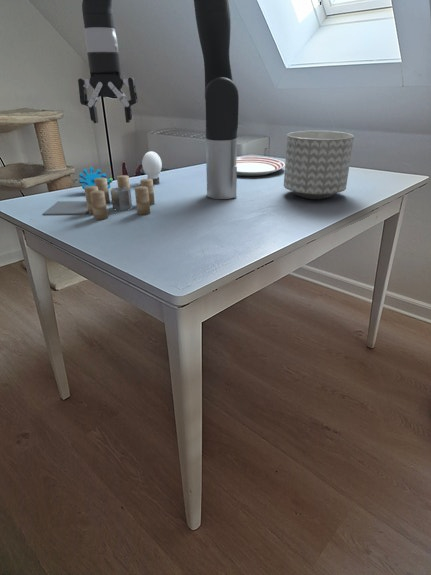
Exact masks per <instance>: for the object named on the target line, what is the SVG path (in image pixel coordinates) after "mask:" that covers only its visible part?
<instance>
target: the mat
mask: <svg viewBox="0 0 431 575" xmlns="http://www.w3.org/2000/svg"><path fill="white" fill-rule="evenodd" d="M87 214H89V213H88V207H87V201H86V200H82V201H81V200H76V201H75V200H74V201H73V200H71V201H70V200H65V201H64V200H62V201H61V200H60V201H57V202H55V203H54V204H53V205H51V206H50V207H48V209H46V210H45V211H44V212H42V215H43V216H51V215H52V216H63V215H64V216H71V215H73V216H76V215H78V216H79V215H80V216H81V215H85V216H86V215H87Z"/></svg>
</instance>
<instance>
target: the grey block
mask: <svg viewBox="0 0 431 575" xmlns="http://www.w3.org/2000/svg"><path fill="white" fill-rule="evenodd" d="M130 191H131V187H130V188H127V187H118V186H117V187H112V188H111V189H110V197H111V204H112V210H113V209H116V210H115V211H118V210H120V211H119V212H122V211H121V210H124V211H128V209H130V210H131V209H132V208H131V207H133V201H132V193H131V192H132V191H131V192H130Z"/></svg>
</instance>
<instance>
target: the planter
mask: <svg viewBox="0 0 431 575" xmlns="http://www.w3.org/2000/svg"><path fill="white" fill-rule="evenodd" d="M354 137H355V136H354V134H352V133H348V132H342V131H334V130H333V131H332V130H300V131H293V132H289V133H287V134H286V145H285V146H286V148H285V160H284V163H285V167H284V176H283V187H284V188H285V189H287V190H289V191H292V193H293V194H295V195H297V196H299V197H301V198H303V199H308V200H323V199H326V198H330V197H332V196H334V195H335V194H338V193H339V194H340V193H342V192H344V191H346V189H347V185H348V178H349V177H348V176H349V173H350V172H349V171H350V166H351V157H352V151H353V143H354Z"/></svg>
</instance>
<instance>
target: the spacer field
mask: <svg viewBox="0 0 431 575" xmlns="http://www.w3.org/2000/svg"><path fill="white" fill-rule="evenodd" d="M107 179H108V178H107V177H106V178H104V177H102V178H96V179H94V181H95V186H88V187H85V188H84V189H83V191H84V195H85V201H87V207H88V213H87V214H89V215H93V218H94V220H96V221H103V220H106V219H108V218H109V216H108V209H107V204H109V203H111V200H110V192H109V189H108V184H107ZM116 180H117V181H116V182H117V187H127V188H130V189H131V185H130V184H131V182H130V176H129V175H127V174H124V175H117V176H116ZM139 181H140V186H135V187H134V194H135V204H136V212H137V215H139V216H147V215H149V214H151V206H153V205H155V204H156V203H155V192H154V191H155V190H154V185H153V180H152V179H148V178H142V179H140V180H139ZM130 192H132V191H131V190H130ZM108 202H109V203H108ZM106 203H107V204H106Z"/></svg>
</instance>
